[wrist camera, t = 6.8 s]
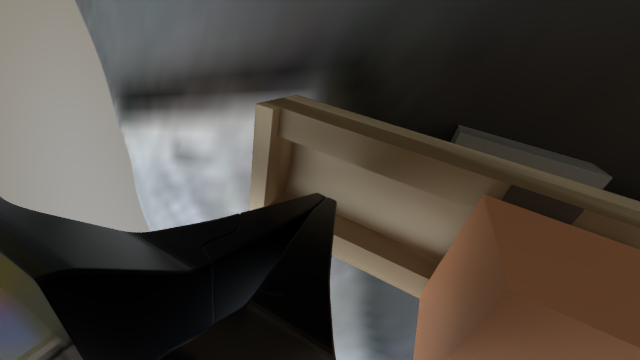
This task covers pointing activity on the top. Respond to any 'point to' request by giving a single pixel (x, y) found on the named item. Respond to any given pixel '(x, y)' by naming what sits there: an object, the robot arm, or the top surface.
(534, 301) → the block
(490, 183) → the wooden tray
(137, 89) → the top surface
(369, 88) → the top surface
